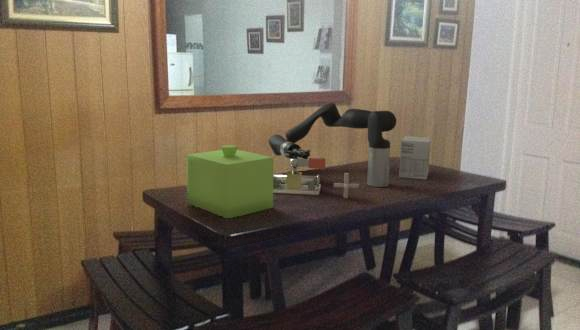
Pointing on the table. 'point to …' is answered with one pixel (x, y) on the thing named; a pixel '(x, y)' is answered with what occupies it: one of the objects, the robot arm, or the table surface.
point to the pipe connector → (346, 185)
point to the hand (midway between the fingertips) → (306, 156)
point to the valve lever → (308, 163)
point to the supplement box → (414, 157)
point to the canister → (230, 181)
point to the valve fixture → (296, 183)
